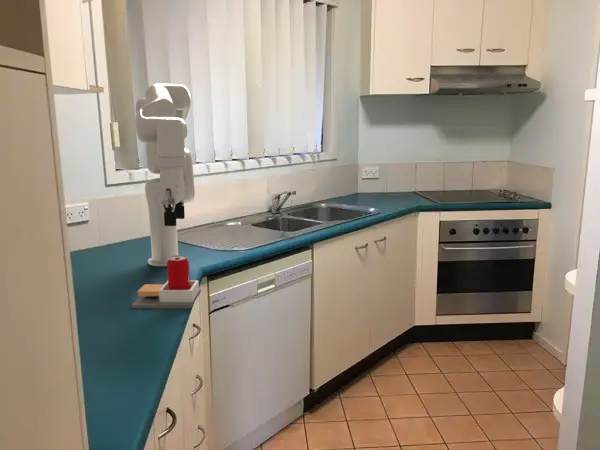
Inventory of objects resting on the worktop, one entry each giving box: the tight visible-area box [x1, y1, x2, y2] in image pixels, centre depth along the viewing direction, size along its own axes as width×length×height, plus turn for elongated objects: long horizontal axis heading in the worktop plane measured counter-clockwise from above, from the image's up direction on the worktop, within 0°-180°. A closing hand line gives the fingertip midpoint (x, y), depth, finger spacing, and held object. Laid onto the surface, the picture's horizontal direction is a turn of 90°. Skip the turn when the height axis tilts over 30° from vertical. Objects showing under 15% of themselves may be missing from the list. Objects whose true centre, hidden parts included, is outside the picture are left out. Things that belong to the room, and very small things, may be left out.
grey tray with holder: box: [131, 279, 202, 310], centre depth 150 cm, size 14×17×4 cm
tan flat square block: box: [137, 283, 165, 297], centre depth 150 cm, size 6×6×2 cm
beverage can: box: [166, 254, 191, 290], centre depth 149 cm, size 6×6×12 cm
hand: (175, 222), depth 147 cm, fingers open, 9 cm apart
